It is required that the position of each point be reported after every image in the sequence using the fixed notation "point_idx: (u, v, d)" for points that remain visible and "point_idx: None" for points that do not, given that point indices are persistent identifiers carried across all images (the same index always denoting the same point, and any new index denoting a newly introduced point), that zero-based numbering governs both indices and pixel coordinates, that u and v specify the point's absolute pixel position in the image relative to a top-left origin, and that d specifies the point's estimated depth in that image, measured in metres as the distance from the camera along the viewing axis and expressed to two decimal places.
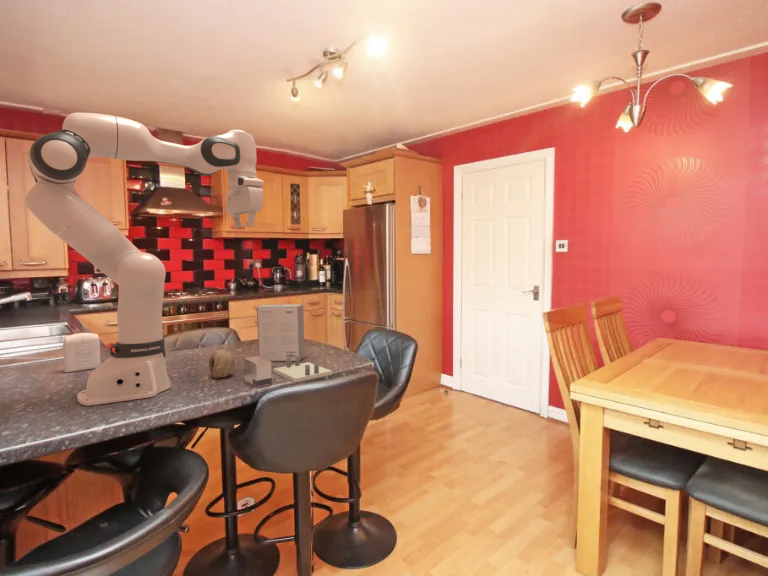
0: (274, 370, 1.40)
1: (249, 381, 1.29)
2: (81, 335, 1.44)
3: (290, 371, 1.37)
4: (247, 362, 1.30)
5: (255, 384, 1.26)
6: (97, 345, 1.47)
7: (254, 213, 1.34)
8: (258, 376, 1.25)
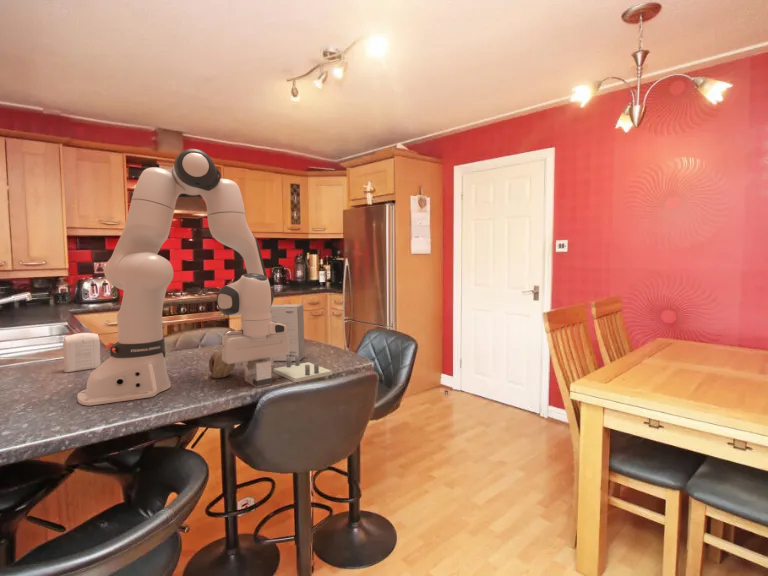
0: (274, 370, 1.40)
1: (249, 381, 1.29)
2: (81, 335, 1.44)
3: (290, 371, 1.37)
4: None
5: (255, 384, 1.26)
6: (97, 345, 1.47)
7: None
8: (258, 376, 1.25)
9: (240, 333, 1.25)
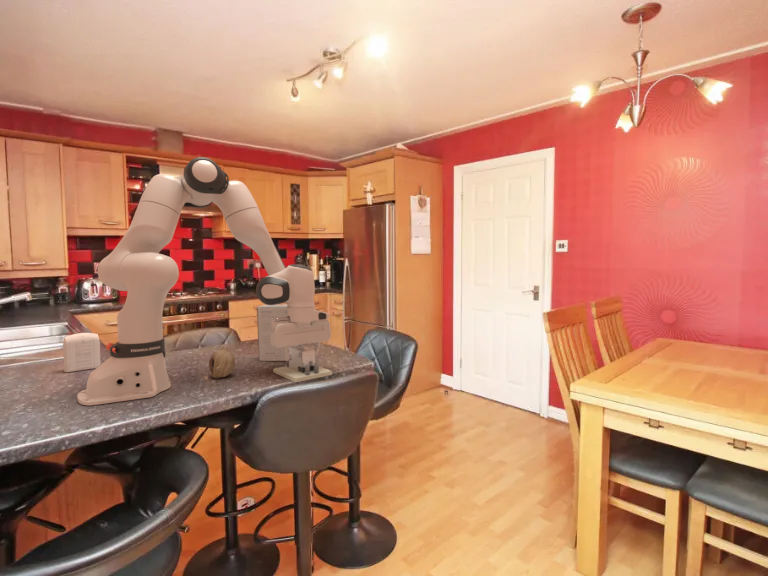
0: (274, 370, 1.40)
1: (294, 368, 1.39)
2: (81, 335, 1.44)
3: (290, 371, 1.37)
4: (292, 350, 1.39)
5: (301, 371, 1.35)
6: (97, 345, 1.47)
7: None
8: (303, 363, 1.35)
9: (287, 320, 1.35)
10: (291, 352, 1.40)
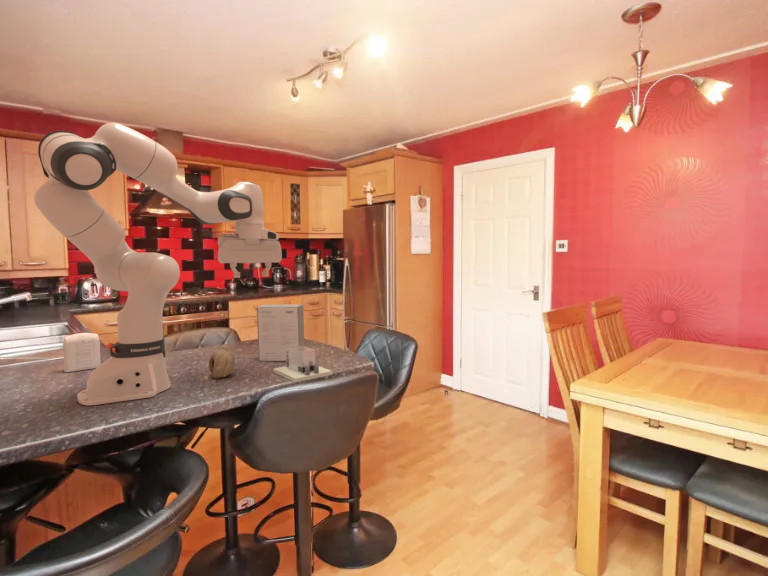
0: (274, 370, 1.40)
1: (294, 368, 1.39)
2: (81, 335, 1.44)
3: (290, 371, 1.37)
4: (292, 350, 1.39)
5: (301, 371, 1.35)
6: (97, 345, 1.47)
7: None
8: (303, 363, 1.35)
9: (235, 236, 1.35)
10: (291, 352, 1.40)
